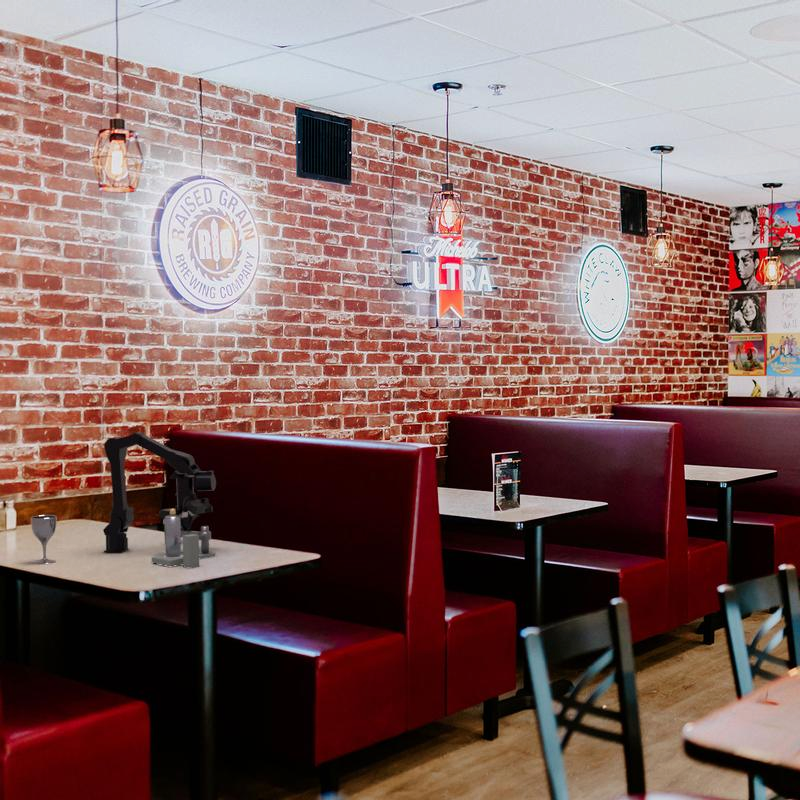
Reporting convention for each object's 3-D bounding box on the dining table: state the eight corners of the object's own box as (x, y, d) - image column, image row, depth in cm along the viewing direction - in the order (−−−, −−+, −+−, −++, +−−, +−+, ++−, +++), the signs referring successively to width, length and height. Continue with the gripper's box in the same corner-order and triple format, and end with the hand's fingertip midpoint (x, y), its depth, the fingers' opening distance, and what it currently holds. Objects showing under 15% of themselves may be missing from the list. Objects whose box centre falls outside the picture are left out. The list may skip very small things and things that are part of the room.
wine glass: (62, 560, 331) (61, 515, 331) (46, 564, 324) (45, 518, 323) (42, 559, 334) (41, 514, 333) (26, 563, 326) (25, 517, 326)
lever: (170, 549, 343) (169, 524, 342) (179, 547, 346) (178, 522, 346) (205, 554, 333) (204, 527, 333) (213, 552, 336) (213, 526, 336)
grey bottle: (166, 557, 321) (166, 510, 321) (164, 555, 326) (164, 508, 325) (181, 556, 323) (181, 509, 323) (179, 554, 327) (179, 507, 327)
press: (151, 563, 324) (151, 532, 324) (205, 554, 340) (205, 525, 340) (180, 569, 313) (180, 537, 313) (235, 559, 329) (234, 529, 329)
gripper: (176, 496, 331) (178, 542, 332) (221, 489, 345) (223, 534, 346) (157, 493, 339) (159, 539, 339) (201, 487, 353) (203, 530, 353)
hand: (187, 535), depth 344 cm, fingers closed
